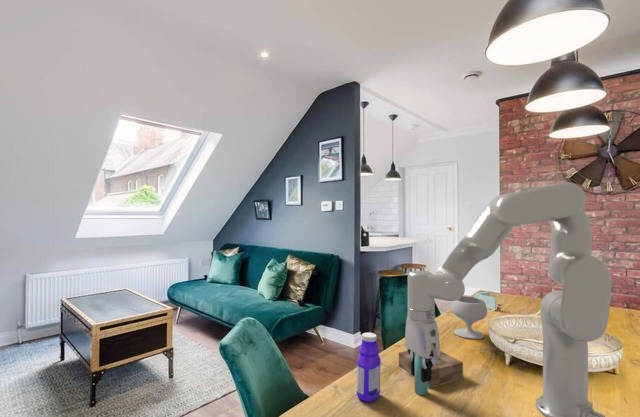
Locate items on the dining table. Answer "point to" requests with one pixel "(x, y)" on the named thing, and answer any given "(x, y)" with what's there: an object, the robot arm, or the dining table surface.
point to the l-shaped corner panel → (487, 299)
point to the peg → (419, 377)
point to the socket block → (436, 369)
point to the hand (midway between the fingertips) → (421, 376)
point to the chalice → (469, 315)
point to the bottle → (368, 369)
